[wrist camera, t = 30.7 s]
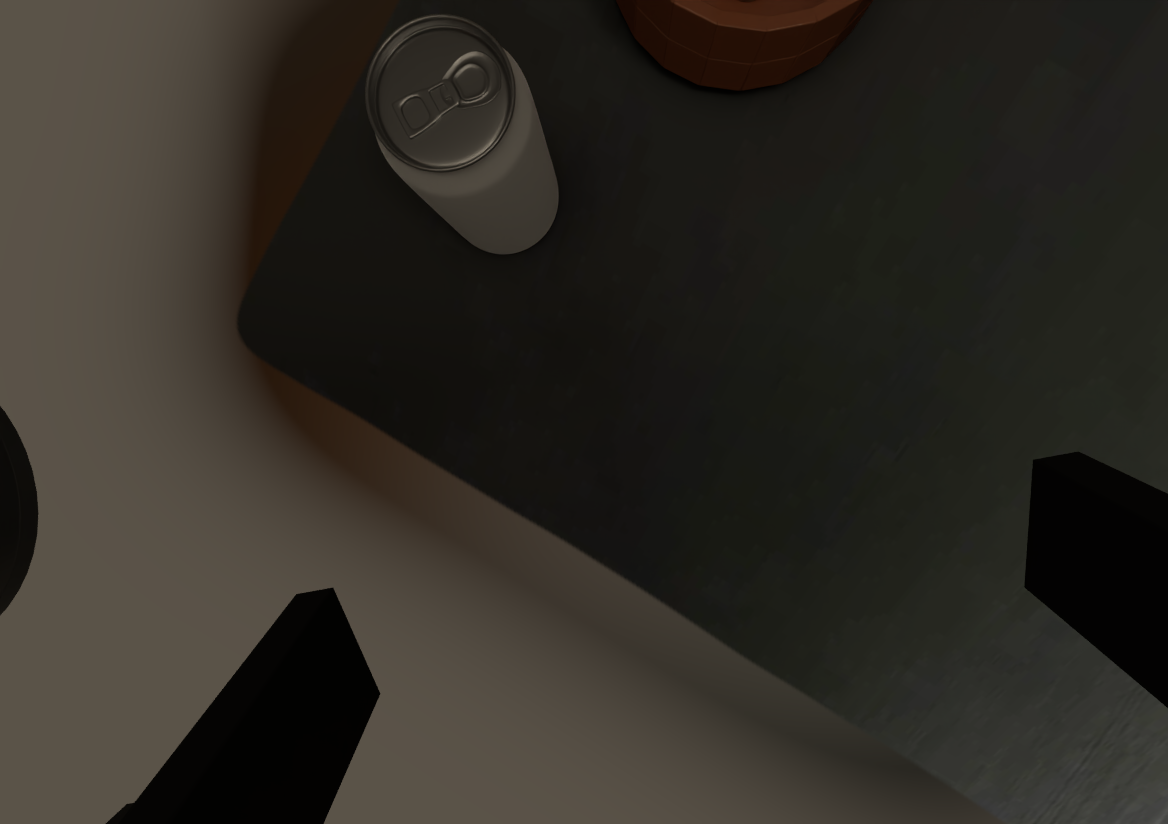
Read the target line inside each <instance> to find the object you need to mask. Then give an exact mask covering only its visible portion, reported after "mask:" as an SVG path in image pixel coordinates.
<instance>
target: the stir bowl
mask: <svg viewBox="0 0 1168 824" xmlns="http://www.w3.org/2000/svg"><path fill="white" fill-rule="evenodd" d="M872 1H873V0H755V1H751V2H743V1H739V0H616V2H617V4H618V6H619V8H620V10H621V12H622V14H623V16H624V18H625V20H626V22H627V24H628V26H629V28H630V31H631V33H632V35H633V37H635V39H636V40H637V41H638V42H639V43H640V44H641V45H642V46H643V47H644V48H645V49H646V50H647V51H648V52H649V53H650V54H651V55H652V56H653V57H654V58H655V60H656V61H657V62H658V63H659V64H660V65H661V66H663V68H665V69H667V70H669V71H671V72H673V73H675V74H677V75H679V76H681V77H683V78H685V79H687V80H689V81H691V82H693V83H695V84H697V85H701V86H708V87H715V88H722V89H729V90H736V91H740V90H741V91H744V90H749V89H754V88H760V87H765V86H771V85H776V84H781V83H784V82H786V81H788V80H790V79H792V78H794V77H795V76H797V75H799V74H801V73H803V72H805V71H807V70H809V69H810V68H812V67H814V66H816V65H818V64H820V63H821V62H822V61H823V60H824V59H825V58H826V57H827V56H828V55H829V54H830V53H831V52H832V51H833V50H834V49H835V48H836V47H837V46H838V45H839V44H840V43H841V42H842V41H843V40H844V39H845V38H846V37H847V36H848V35H849V34H850V33H851V32H852V30H853V29H854V28H855V26H856V25H857V23H858V22H859V20H860V19H861V18H862V16H863V15H864V13H865V12H866V10H867V9H868V7H869V6H870V4H871V3H872Z"/></svg>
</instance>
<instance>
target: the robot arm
mask: <svg viewBox="0 0 1168 824" xmlns="http://www.w3.org/2000/svg"><path fill="white" fill-rule="evenodd" d="M1024 587H1025V588H1026V589H1027V590H1028V591H1030V592H1031V593H1032V594H1033V595H1034V596H1036V597H1037V598H1038V599H1039V600H1040V601H1041V602H1043V603H1044V604H1045V605H1046V606H1047V607H1049V608H1050V609H1051V610H1052V611H1053V612H1055V613H1056V614H1057V615H1058V616H1059V617H1060V618H1062V619H1063V620H1064V621H1065V622H1066V623H1068V624H1069V625H1070V626H1071V627H1072V628H1074V629H1075V630H1076V631H1077V632H1078V633H1079V634H1081V635H1082V636H1083V637H1084V638H1085V639H1087V640H1088V641H1089V642H1090V643H1091V644H1093V645H1094V646H1095V647H1096V648H1097V649H1098V650H1100V651H1101V652H1102V653H1103V654H1104V655H1106V656H1107V657H1108V658H1109V659H1110V660H1112V661H1113V662H1114V663H1115V664H1116V665H1117V666H1119V667H1120V668H1121V669H1122V670H1123V671H1125V672H1126V673H1127V674H1128V675H1129V676H1131V677H1132V678H1133V679H1134V680H1135V681H1136V682H1138V683H1139V684H1140V685H1141V686H1142V687H1144V688H1145V689H1146V690H1147V691H1148V692H1150V693H1151V694H1152V695H1153V696H1154V697H1155V698H1157V699H1158V700H1159V701H1160V702H1161V703H1163V704H1164V705H1165V706H1166V707H1167V708H1168V494H1167V493H1165V492H1163V491H1161V490H1159V489H1156V488H1154V487H1152V486H1150V485H1148V484H1146V483H1144V482H1142V481H1139V480H1137V479H1135V478H1133V477H1131V476H1129V475H1127V474H1125V473H1123V472H1120V471H1118V470H1116V469H1114V468H1112V467H1110V466H1108V465H1106V464H1104V463H1101V462H1099V461H1097V460H1095V459H1093V458H1091V457H1089V456H1087V455H1085V454H1082V453H1080V452H1074V453H1068V454H1063V455H1057V456H1052V457H1046V458H1041V459H1035V460H1033V469H1032V484H1031V498H1030V513H1029V528H1028V542H1027V557H1026V571H1025V586H1024ZM379 695H380V692H379V690H378V687H377V686H376V683H375V681H374V679H373V676H372V674H371V672H370V670H369V667H368V665H367V663H366V660H365V658H364V656H363V654H362V651H361V649H360V647H359V645H358V643H357V640H356V638H355V636H354V634H353V631H352V629H351V627H350V624H349V622H348V620H347V618H346V615H345V613H344V611H343V609H342V606H341V605H340V602H339V600H338V598H337V595H336V593H335V591H334V589H333V588H328V589H323V590H317V591H312V592H306V593H301V594H296V595H295V597H294V598H293V599H292V601H291V602H290V603H289V604H288V606H287V607H286V608H285V610H284V611H283V612H282V614H281V615H280V616H279V617H278V619H277V620H276V621H275V622H274V624H273V625H272V626H271V628H270V629H269V630H268V631H267V633H266V634H265V635H264V637H263V638H262V639H261V641H260V642H259V643H258V644H257V646H256V647H255V648H254V649H253V651H252V652H251V654H250V655H249V656H248V657H247V659H246V660H245V661H244V662H243V664H242V665H241V666H240V668H239V669H238V670H237V671H236V673H235V674H234V675H233V676H232V678H231V679H230V680H229V682H228V683H227V684H226V686H225V687H224V688H223V689H222V691H221V692H220V693H219V695H218V696H217V697H216V698H215V700H214V701H213V702H212V704H211V705H210V706H209V707H208V709H207V710H206V711H205V713H204V714H203V715H202V716H201V718H200V719H199V720H198V722H197V723H196V724H195V725H194V727H193V728H192V730H191V731H190V732H189V733H188V735H187V736H186V737H185V738H184V740H183V741H182V742H181V744H180V745H179V746H178V747H177V749H176V750H175V751H174V752H173V754H172V755H171V756H170V758H169V759H168V760H167V761H166V763H165V764H164V766H163V767H162V768H161V769H160V771H159V772H158V773H157V774H156V776H155V777H154V778H153V780H152V781H151V782H150V783H149V785H148V786H147V787H146V789H145V790H144V791H143V792H142V794H141V795H140V796H139V798H138V799H137V800H136V801H135V803H131V804H126V805H125V807H123V808H122V809H121V810H120V811H119V812H118V813H117V814H116V815H115V816H114V817H112V818H111V819H110V820H109V821H108V822H107V823H106V824H324V821H325V819H326V817H327V814H328V812H329V810H330V808H331V805H332V803H333V801H334V798H335V796H336V794H337V792H338V789H339V787H340V785H341V782H342V780H343V778H344V775H345V773H346V771H347V769H348V766H349V764H350V761H351V760H352V757H353V754H354V753H355V750H356V748H357V746H358V743H359V741H360V739H361V737H362V734H363V732H364V729H365V727H366V725H367V723H368V721H369V718H370V716H371V714H372V711H373V709H374V707H375V705H376V702H377V700H378V698H379Z"/></svg>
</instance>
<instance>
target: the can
mask: <svg viewBox="0 0 1168 824" xmlns="http://www.w3.org/2000/svg"><path fill="white" fill-rule="evenodd" d="M365 101H366V109H367V113H368V117H369V120H370V123H371V126H372V128H373V130H374V132H375V134H376V138H377V141H378V144H379V146H380V149H381V151H382V153H383V155H384V156H385V158H386V160H387V161H388V163H389V164H390V166H391V167H392V168H393V170H394V171H395V172H396V173H397V174H398V175H399V176H400V177H401V178H402V179H403V181H404V182H405V183H407V184H408V185H409V186H410V187H411V188H412V189H413V190H414V191H415V192H416V193H417V194H418V195H419V196H420V197H421V198H422V199H423V200H424V201H425V202H426V203H427V204H428V205H429V206H431V207H432V208H433V209H434V210H435V211H436V212H437V213H438V214H439V215H440V216H441V217H442V218H443V219H444V220H445V221H446V222H448V223H449V224H450V225H451V226H452V227H453V228H454V229H455V230H456V231H457V232H458V233H459V234H461V235H462V236H463V237H464V238H465V239H466V240H467V241H469V242H470V243H471V244H473V245H474V246H476V247H477V248H479V249H481V250H484V251H486V252H490V253H494V254H513V253H517V252H521V251H523V250H526V249H528V248H530V247H531V246H533V245H534V244H536V243H537V242H538V241H539V240H541V239H542V238H543V236H544V235H545V234H546V233H547V232H548V230H549V229H550V227H551V225H552V223H553V221H554V219H555V216H556V213H557V209H558V200H559V193H558V184H557V179H556V176H555V172H554V168H553V165H552V161H551V158H550V154H549V151H548V147H547V144H546V141H545V137H544V134H543V130H542V127H541V124H540V120H539V117H538V114H537V110H536V107H535V104H534V101H533V98H532V94H531V92H530V89H529V86H528V83H527V81H526V79H525V77H524V75H523V73H522V71H521V69H520V67H519V66H518V64H517V63H516V61H515V60H514V59H513V58H512V56H511V55H510V54H509V53H508V52H507V51H506V50H505V49H504V48H502V47H501V45H500V44H499V42H498V41H497V40H496V39H495V38H494V37H493V36H492V35H491V34H490V33H489V32H488V31H487V30H486V29H484V28H483V27H482V26H480V25H478V24H477V23H475V22H473V21H471V20H469V19H466V18H463V17H460V16H456V15H450V14H431V15H426V16H422V17H418V18H416V19H413V20H411V21H409V22H407V23H405V24H403V25H402V26H400V27H399V28H397V29H396V30H395V31H394V32H392V33H391V34H390V35H389V36H388V37H387V38H386V39H385V41H384V42H383V43H382V44H381V46H380V47H379V49H378V50H377V52H376V53H375V55H374V57H373V59H372V62H371V64H370V67H369V70H368V74H367V79H366V86H365Z"/></svg>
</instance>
